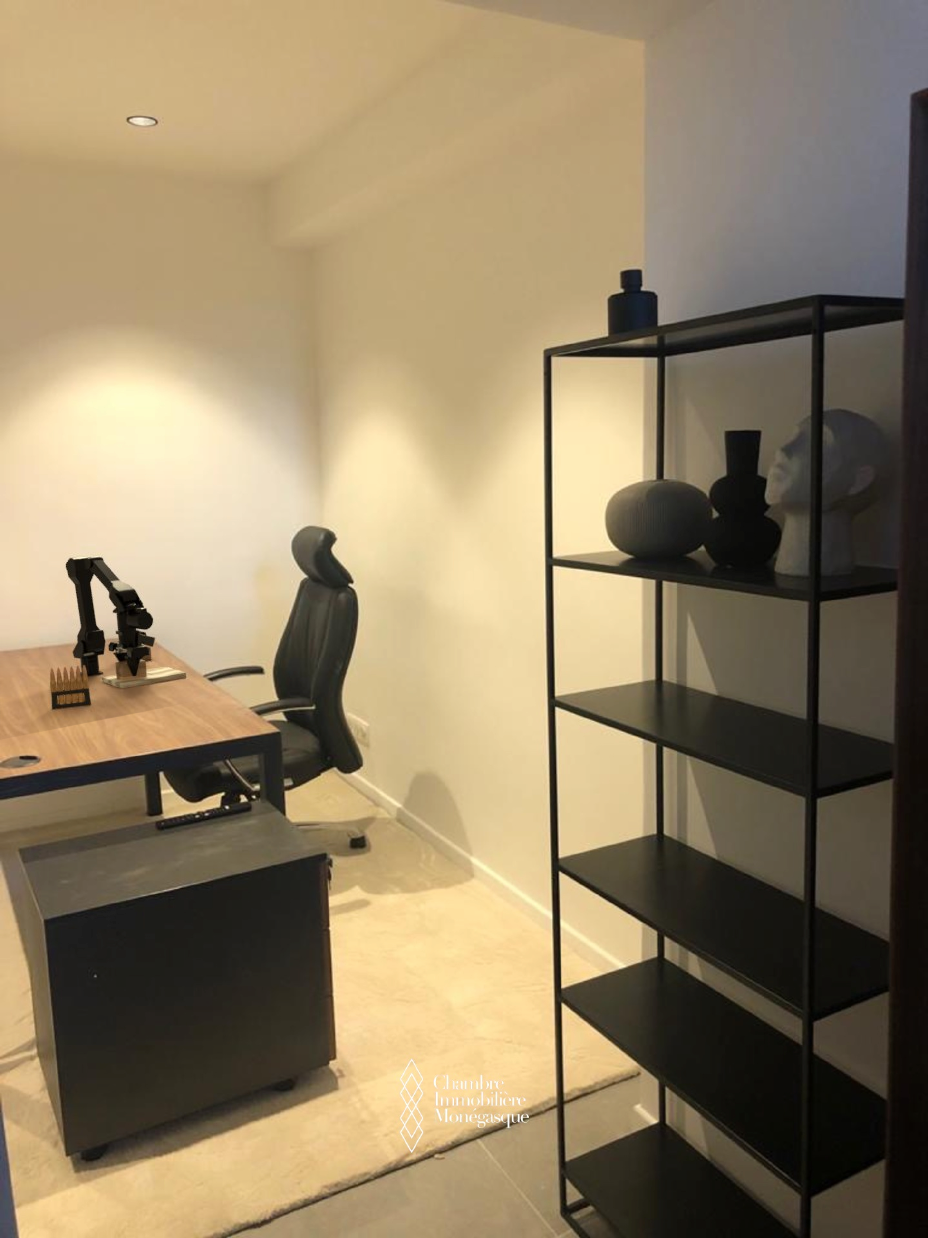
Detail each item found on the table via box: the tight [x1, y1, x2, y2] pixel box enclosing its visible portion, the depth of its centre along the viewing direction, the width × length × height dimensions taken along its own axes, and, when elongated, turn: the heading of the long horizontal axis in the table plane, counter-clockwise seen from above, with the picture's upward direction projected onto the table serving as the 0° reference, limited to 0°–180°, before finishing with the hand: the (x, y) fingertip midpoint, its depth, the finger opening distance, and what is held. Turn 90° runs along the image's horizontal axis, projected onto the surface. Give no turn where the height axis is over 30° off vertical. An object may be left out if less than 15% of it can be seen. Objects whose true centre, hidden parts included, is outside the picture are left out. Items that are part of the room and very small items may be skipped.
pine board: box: [101, 666, 187, 689], centre depth 332 cm, size 15×22×2 cm
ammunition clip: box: [49, 665, 92, 711], centre depth 296 cm, size 11×2×12 cm, turn 113°
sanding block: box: [115, 659, 147, 680], centre depth 329 cm, size 5×8×5 cm, turn 132°
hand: (131, 674), depth 329 cm, fingers closed on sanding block, 5 cm apart
